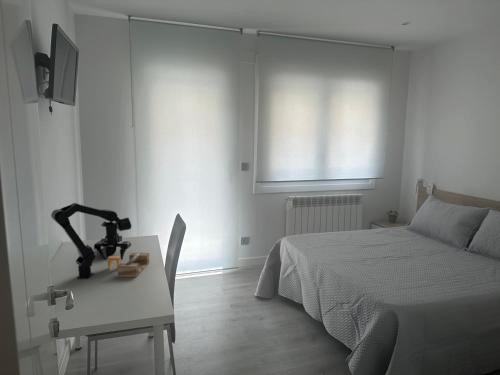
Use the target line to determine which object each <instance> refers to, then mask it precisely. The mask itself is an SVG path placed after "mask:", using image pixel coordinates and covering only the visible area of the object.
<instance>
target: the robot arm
mask: <svg viewBox="0 0 500 375" xmlns="http://www.w3.org/2000/svg"><path fill="white" fill-rule="evenodd" d="M77 212H78V213H81V214H82V213H83V214H87V215H91V216H95V217H99V218H101V219H103V220H106V221H103V222H102V223H101V225H100V226H102V227H103V228H105V235H104V236H105V238H106V239H107V243H105V241H100V240H99V241H97V242H96V243H94V245H93V248H92V247H91V246H90V245H89V244H86V245H85V243H84V242H83V240H82V239H81V237H80V236H79V234H78V233H77V231H76V230H75V229H74V227H73V226H72V224H71V222H70V219H69V218H71V217H72V216H73V215H74V214H76V213H77ZM50 216H51V219H52V220H53V221H54V222H55V223H57V224H58V225H59V226H60V227H61V228H62V229H63V231H64V232H65V234H66V235H67V236H68V238H69V239H70V241H71V242H72V244H73V245H74V246H75V248H76V249H77V253H78V255H79V256H78V257H77V259H76V260H75V263H76V264H77V265H78V269H77V270H78V276H76V277H75V278H76V279H89V278H91V277H92V276H93V275H94V274H95V273H94V272H92V266H93V262H94V261H95V259H96V252H95V251H94V250H96V251H98V253H99V252H100V253H99V254H100V256H101V257H102V258H103V259H104V261H107V258H108V257H106V247H116V248H117V247H118V248H119V256H120V259H121V261H123V260H124V257H125V253H126V251H127V250H128V249H129V248H130V247H131V246H132V242H131V241H128V240H127V241H123V235H119V232H123V231H124V232H125V231H127V230H131V229H132V224H131V221H130V218H129V217H124V218H119V217H118V213H117V212H116V211H114V210H111V209H105V208H104V209H103V208H95V207H90V206H87V205H84V204H80V203H77V202H72V203H71V204H69V205H66V206H63V207H61V208H58V209H57V208H56V209H54V210H53V211H52V212H51V214H50ZM107 221H108V222H107ZM118 231H119V232H118Z"/></svg>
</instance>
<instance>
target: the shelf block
mask: <svg viewBox="0 0 500 375" xmlns="http://www.w3.org/2000/svg"><path fill="white" fill-rule="evenodd" d="M128 260H129V261H128V262H124V263H123V262H121V263H120V264H119V265H118V266H117V265H116V270H117V278H137V277H138V276H139V275H140V274H141V273H142V272H143V271H144V270H145V269H146V267H148V265H149V264H150V252H130V253H129V255H128Z"/></svg>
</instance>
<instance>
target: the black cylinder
mask: <svg viewBox="0 0 500 375" xmlns="http://www.w3.org/2000/svg"><path fill="white" fill-rule="evenodd" d="M105 236H106V235H104V236H103V237H101V238H100V240H99V241H105V243H107V239H106V238H105ZM116 251H117V247H106V257H107V258H108V257H109V256H114V255H115V253H116ZM98 253H99V254H100V252H99V251H98Z"/></svg>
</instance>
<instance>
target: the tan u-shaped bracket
mask: <svg viewBox="0 0 500 375" xmlns="http://www.w3.org/2000/svg"><path fill="white" fill-rule="evenodd" d="M106 261H107V269H108V270H111V269H112V268H113V261H114V262H116V267H117V266H118V265H119V264H120V263H122V262H121V261H122V260H121V256H120V255H112V256H109V257H107V259H106Z"/></svg>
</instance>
